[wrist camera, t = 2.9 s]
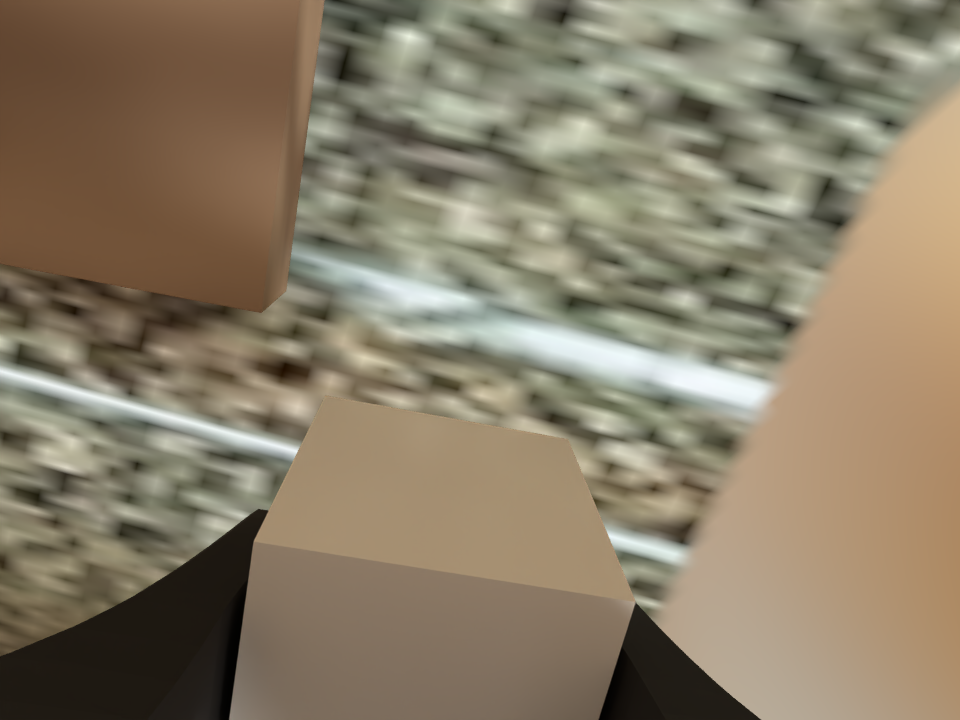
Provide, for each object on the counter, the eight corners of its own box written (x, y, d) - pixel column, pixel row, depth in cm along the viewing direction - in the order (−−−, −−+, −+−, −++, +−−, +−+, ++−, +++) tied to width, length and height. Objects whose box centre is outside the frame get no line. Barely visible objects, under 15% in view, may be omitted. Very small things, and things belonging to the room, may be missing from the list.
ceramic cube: (514, 641, 15) (548, 880, 10) (291, 607, 14) (212, 842, 9) (568, 439, 13) (635, 601, 9) (325, 395, 13) (253, 540, 8)
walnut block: (289, 288, 19) (261, 312, 16) (-58, 221, 18) (-151, 235, 16) (337, -78, 17) (315, -123, 14) (-61, -175, 16) (-172, -246, 13)
